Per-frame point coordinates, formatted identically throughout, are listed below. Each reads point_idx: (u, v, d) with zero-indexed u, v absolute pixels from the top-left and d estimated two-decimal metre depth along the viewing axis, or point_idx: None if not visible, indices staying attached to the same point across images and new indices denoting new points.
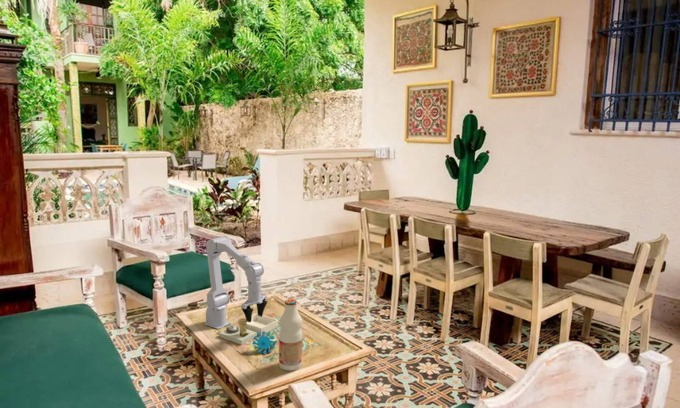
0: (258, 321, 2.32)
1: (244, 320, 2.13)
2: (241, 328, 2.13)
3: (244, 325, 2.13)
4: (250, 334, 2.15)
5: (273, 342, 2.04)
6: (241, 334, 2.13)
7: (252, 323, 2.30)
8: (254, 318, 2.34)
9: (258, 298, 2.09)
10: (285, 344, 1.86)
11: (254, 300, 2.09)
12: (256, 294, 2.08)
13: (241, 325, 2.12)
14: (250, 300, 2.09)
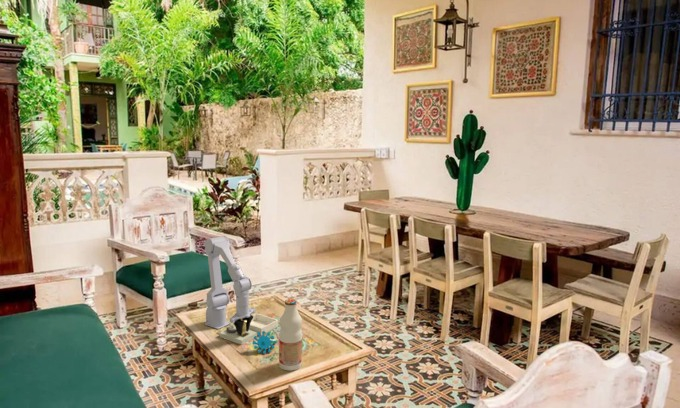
0: (258, 321, 2.32)
1: (244, 320, 2.13)
2: None
3: (244, 325, 2.13)
4: (250, 334, 2.15)
5: (273, 342, 2.05)
6: None
7: (252, 323, 2.30)
8: (254, 318, 2.34)
9: (246, 312, 2.11)
10: (285, 344, 1.86)
11: (242, 314, 2.10)
12: (244, 308, 2.10)
13: None
14: (238, 314, 2.10)
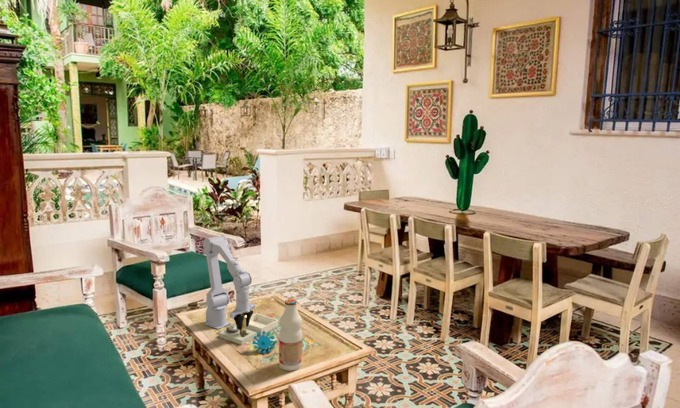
0: (258, 321, 2.32)
1: (244, 315, 2.13)
2: None
3: (244, 320, 2.12)
4: (250, 334, 2.15)
5: (273, 342, 2.05)
6: None
7: (252, 323, 2.30)
8: (254, 318, 2.34)
9: (246, 307, 2.10)
10: (285, 344, 1.86)
11: (242, 309, 2.10)
12: (244, 303, 2.10)
13: None
14: (238, 309, 2.10)
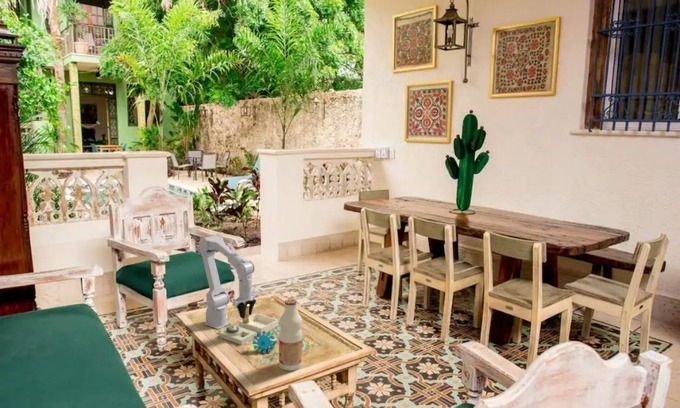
0: (258, 321, 2.32)
1: (247, 304, 2.14)
2: None
3: (247, 309, 2.14)
4: (250, 334, 2.15)
5: (273, 342, 2.05)
6: (244, 318, 2.14)
7: (252, 323, 2.30)
8: (254, 318, 2.34)
9: (249, 296, 2.12)
10: (285, 344, 1.86)
11: (245, 297, 2.11)
12: (247, 292, 2.11)
13: None
14: (241, 297, 2.11)
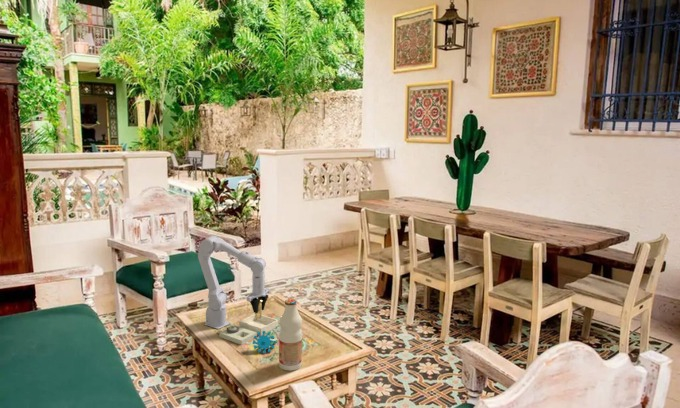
0: (258, 321, 2.32)
1: (260, 299, 2.24)
2: None
3: (260, 304, 2.24)
4: (250, 334, 2.15)
5: (273, 342, 2.05)
6: (257, 313, 2.24)
7: (252, 323, 2.30)
8: (254, 318, 2.34)
9: (262, 291, 2.22)
10: (285, 344, 1.86)
11: (258, 293, 2.21)
12: (260, 288, 2.21)
13: None
14: (254, 293, 2.21)
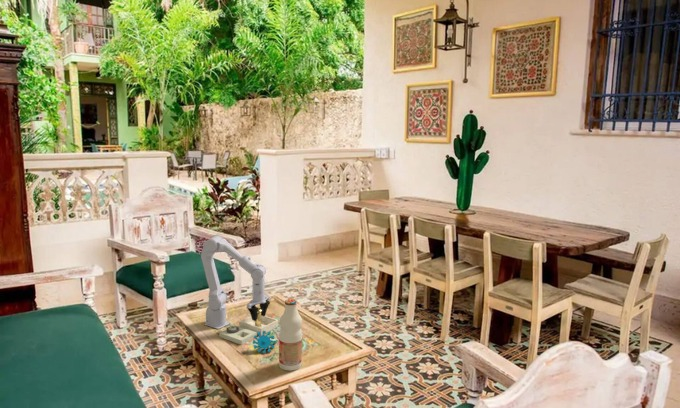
0: None
1: (259, 309, 2.25)
2: None
3: (259, 314, 2.24)
4: (250, 334, 2.15)
5: (273, 342, 2.05)
6: (256, 323, 2.25)
7: (252, 323, 2.30)
8: None
9: (262, 298, 2.22)
10: (285, 344, 1.86)
11: (258, 300, 2.22)
12: (260, 295, 2.22)
13: None
14: (254, 300, 2.22)
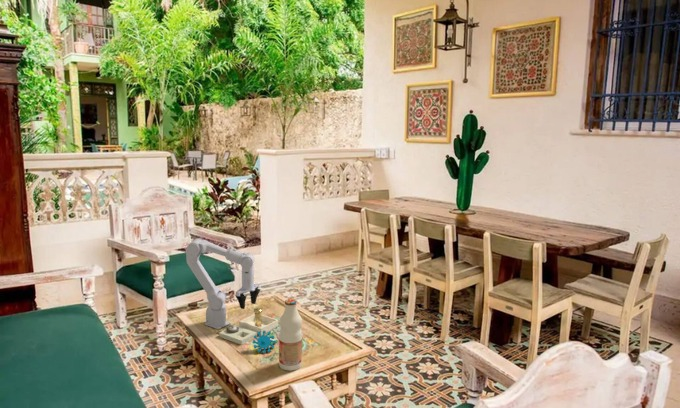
0: None
1: (259, 309, 2.25)
2: (256, 317, 2.24)
3: (259, 314, 2.24)
4: (250, 334, 2.15)
5: (273, 342, 2.05)
6: (256, 323, 2.25)
7: (252, 323, 2.30)
8: (254, 318, 2.34)
9: (251, 286, 2.24)
10: (285, 344, 1.86)
11: (247, 288, 2.23)
12: (249, 283, 2.23)
13: (256, 314, 2.24)
14: (243, 288, 2.23)
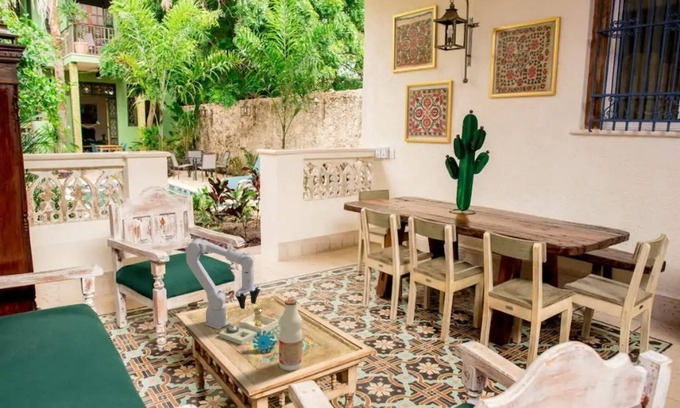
0: None
1: (259, 309, 2.25)
2: (256, 317, 2.24)
3: (259, 314, 2.24)
4: (250, 334, 2.15)
5: (273, 342, 2.05)
6: (256, 323, 2.25)
7: (252, 323, 2.30)
8: (254, 318, 2.34)
9: (251, 286, 2.24)
10: (285, 344, 1.86)
11: (247, 288, 2.23)
12: (249, 283, 2.23)
13: (256, 314, 2.24)
14: (243, 288, 2.23)
